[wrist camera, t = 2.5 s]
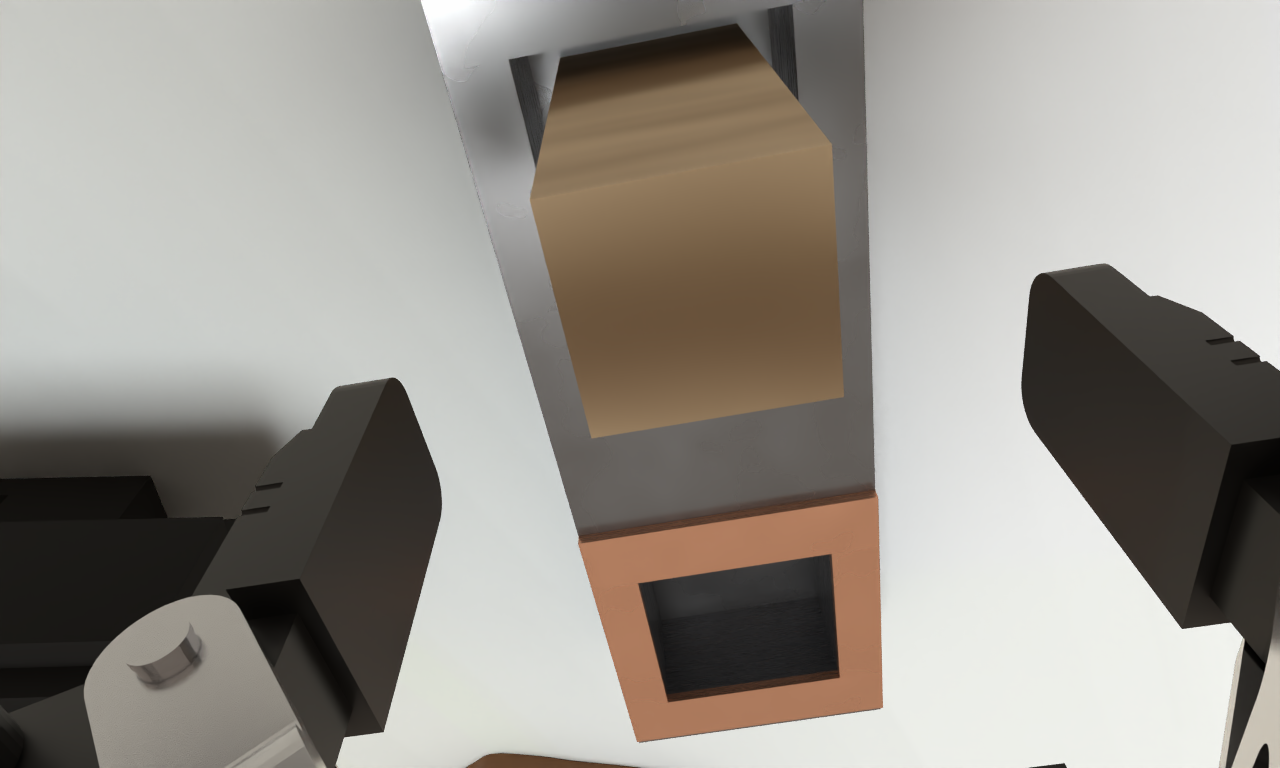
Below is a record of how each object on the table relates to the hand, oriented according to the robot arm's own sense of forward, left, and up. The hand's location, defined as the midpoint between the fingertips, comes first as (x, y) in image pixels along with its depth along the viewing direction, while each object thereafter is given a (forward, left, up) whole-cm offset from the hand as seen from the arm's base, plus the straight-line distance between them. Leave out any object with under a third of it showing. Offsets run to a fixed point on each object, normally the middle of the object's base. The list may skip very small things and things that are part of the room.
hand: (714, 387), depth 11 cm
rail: (+7, 0, -12) cm, 13 cm away
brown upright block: (0, 0, -11) cm, 11 cm away
